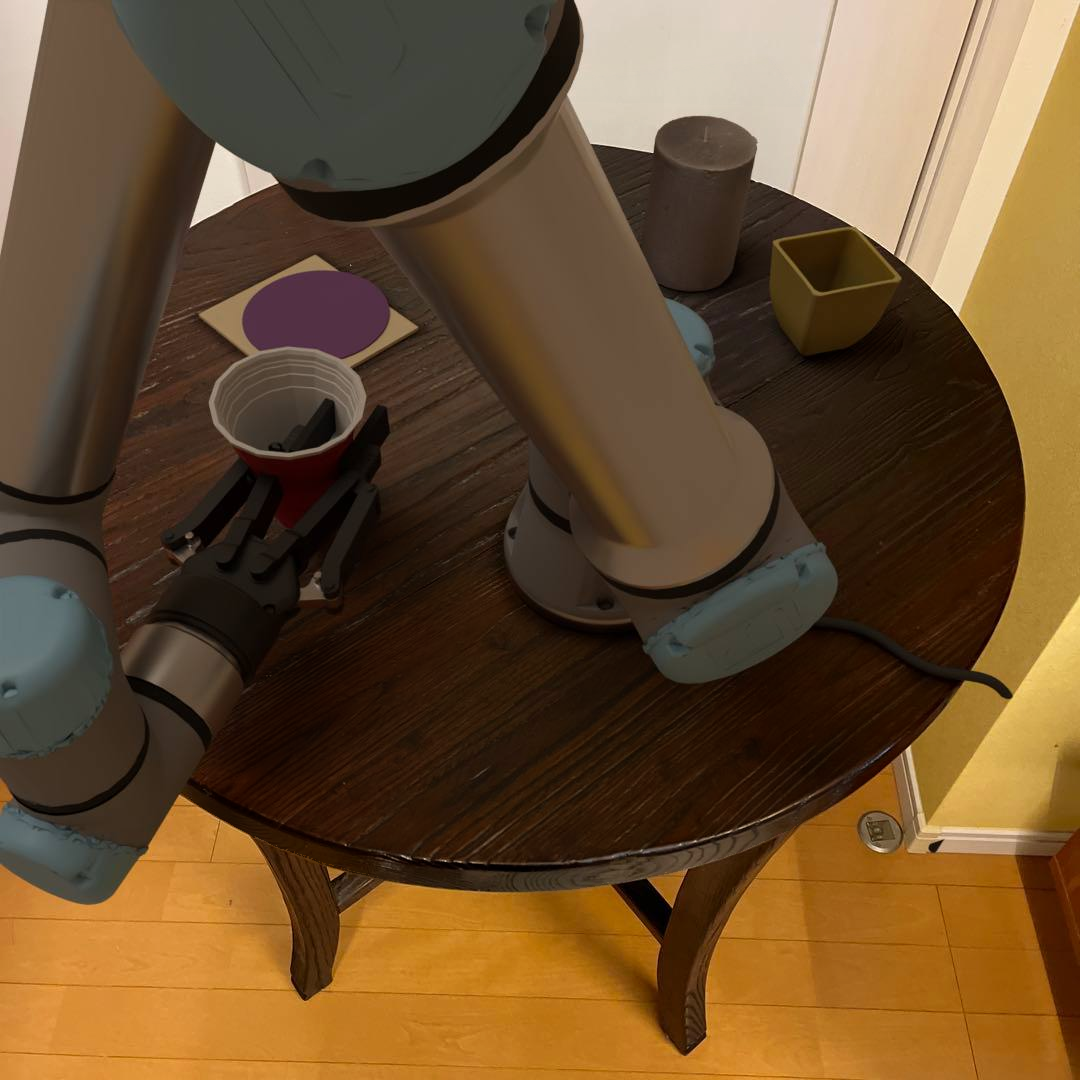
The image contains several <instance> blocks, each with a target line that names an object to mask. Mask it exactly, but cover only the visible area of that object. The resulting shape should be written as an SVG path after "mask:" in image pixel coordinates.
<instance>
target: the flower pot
mask: <svg viewBox="0 0 1080 1080" xmlns="http://www.w3.org/2000/svg"><path fill="white" fill-rule="evenodd" d="M770 264H771V265H770V273H769V295H770V296H769V297H770V302H771V306H772V309H773V312H774V315H775V318H776V321H777V323H778V325H779V327H780V328H781V330H782V331H783V333H784V334H785V335H786V336H787V337H788V339H789V340H790V342H791V343H792V344H793V346H794V347H795V348H796V350H797V351H798V352H799V354H800V355H801V356H804V357H809V356H813V355H817V354H823V353H827V352H834V351H838V350H844V349H847V348H850V347H851V346H853V345H854V344H856V343H857V342H859V341H860V340H862V339H863V338H864V337H866V336H867V335H868V334H869V333H870V332H871V331H872V330H873V329H874V328H875V326H877V324H878V323H879V321H880V320H881V318H882V317H883V315H884V314H885V311H886V310H887V307H888V306H889V304H890V303H891V300H892V298H893V296H894V295H895V292H896V291H897V289H898V287H899V286H900V283H901V282H902V277H901V275H900V274H899V273H898V272H897V271H896V270H895V269H894V267H893V266H892V265H891V264H890V263H889V262H888V261H887V260H886V259H885V257H884V256H883V255H882V254H881V253H880V252H879V251H878V250H877V249H876V247H875V246H874V245H873V244H872V243H871V242H870V241H869V240H868V238H867V237H866V236H865V235H864V234H863V233H862V232H861V231H860V230H859V229H858V228H857V227H856V226H846V227H838V228H837V227H836V228H831V229H827V230H822V231H815V232H810V233H803V234H799V235H794V236H793V235H792V236H786V237H781V238H778V239H774V240H773V241H772V249H771V261H770Z"/></svg>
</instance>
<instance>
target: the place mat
mask: <svg viewBox="0 0 1080 1080" xmlns="http://www.w3.org/2000/svg"><path fill="white" fill-rule="evenodd" d="M198 317H199V318H200V319H201V320H202V321H204V322H205V324H207V325H208V326H209V327H211V328H212V329H213V330H214V331H216V332H217V333H218V334H219V335H221V336H222V338H225V339H226V340H227V341H228V342H229V343H231V344H232V345H233V346H234V347H236V348H237V349H238V350H239V351H241V352H242V353H243V354H244V355H246V357H248V356H250V355H252V354H254V353H256V352H259V351H264V350H270V349H276V348H282V347H298V348H308V349H317V350H320V351H322V352H324V353H327V354H329V355H332V356H334V357H337V358H339V359H341V360H343V361H344V362H345V363H346V364H347V365H348V366H349V367H350V368H351V369H352V370H353V369H355V368H357V367H358V366H360V365H362V364H364V363H365V362H367V361H369V360H370V359H372V358H374V357H375V356H377V355H380V354H381V353H382V352H384V351H387V350H388V349H389V348H391V347H392V346H394V345H396V344H398V343H399V342H401V341H403V340H404V339H406V338H408V337H409V336H412V335H413V334H415V333H416V332H418V331H419V330H420V329H419V326H417V325H416V324H415V323H413V322H412V321H411V320H409V319H408V318H406V317H405V316H403V315H402V314H400V313H399V312H397V311H396V310H395V309H393V308H392V307H391V306H390V305H389V302H388V299H387V297H386V296H385V294H384V293H383V291H382V290H381V289H380V288H379V287H378V286H377V285H375V284H374V283H373V282H371V281H370V280H368V279H366V278H364V277H361V276H359V275H356V274H354V273H349V272H345V271H339V270H338V269H337V268H335V267H334V266H332V265H331V264H329V263H328V262H327V261H325V260H324V259H323V258H321V257H320V256H318V254H314V255H312V256H310V257H307V258H305V259H304V260H302V261H299V262H297V263H296V264H293V265H292V266H290V267H288V268H286V269H284V270H282V271H280V272H278V273H276V274H274V275H272V276H271V277H268V278H266V279H265V280H262V281H260V282H259V283H257V284H254V285H253V286H251V287H249V288H247V289H245V290H242V291H241V292H239V293H237V294H235V295H233V296H231V297H229V298H227V299H225V300H223V301H221V302H219V303H217V304H215V305H214V306H211V307H209V308H208V309H206V310H203V311H201V312H200V313H198Z"/></svg>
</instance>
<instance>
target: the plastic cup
mask: <svg viewBox="0 0 1080 1080" xmlns="http://www.w3.org/2000/svg"><path fill="white" fill-rule="evenodd" d="M211 391H212V392H211V395H210V397H209V400H208V406H209V411H210V415H211V419H212V424H213V425H214V427H215V429H216V430H217V431H218V432H219V433H220V434H221V435H222V436H223V437H224V438H225V439H226V440H227V441H228V443H229V444H230V445H231V448H233V451H234V452H235V453H236V454H237V455H238V458H239V457H241V458H242V459H243V460H244V461H245V462H246V463H247V464H248V465H249V466H250V468H251V470H252V471H251V473H252V474H253V476H254V478H255V480H256V481H257V479H258V477H259V475H260V472H264V473H267V474H269V475H277V477H278V480H279V482H280V485H281V487H282V489H283V492H284V496H283V498H282V500H281V502H280V505H279V507H278V509H277V511H276V513H275V515H274V518H276V520H277V521H278V522H279V523H280V524H281V525H282V526H283V527H284V528H285V529H287V530H291V529H292V528H293V527H294V526H295V524H296V523H297V522H298V521H299V520H300V519H301V518H302V517H303V516H304V515H305V514H306V513H307V512H308V511H309V510H310V508H311V507H312V506H313V505H314V504H315V503H316V502H317V501H318V500H319V499H320V498H321V497H322V496H323V495H324V493H325V492H326V491H327V490H328V489H329V488H330V487H331V486H332V485H333V484H334V483H335V482H336V481H337V480H338V478H339V477H340V471H339V466H338V463H339V461H340V460H341V458H342V457H343V455H344V454H345V452H346V451H347V449H348V448H349V446H350V445H351V443H352V442H353V440H354V434H355V430H356V428H357V427H358V425H360V423H361V422H362V420H363V415H364V410H365V407H366V406H365V405H366V400H367V396H368V395H367V393H366V391H365V388H364V385H363V383H362V380H361V376H360V375H359V374H358V373H357V372H356V371H355V370H353V369H351V368H350V367H349V366H348V365H347V364H346V363H345V362H344V361H343V360H341V359H339V358H337V357H334V356H332V355H329V354H327V353H324V352H322V351H320V350H317V349H308V348H298V347H282V348H276V349H270V350H264V351H259V352H256V353H254V354H252V355H250V356H246V357H244V358H242V359H240V360H238V361H236V362H234V363H232V364H231V365H230V366H229V368H228V369H226V370H225V371H224V373H222V374H221V375H220V377H218V378H217V379H216V380H215V382H214V385H213V388H212V390H211ZM325 398H328V399H330V400H333V401H334V407H335V422H336V432H335V433H334V435H333V436H332V438H331V439H330V441H329V442H327V443H325V444H324V445H322V446H320V447H318V448H313V449H308V450H302V451H297V452H292V453H283V452H272V451H269V450H268V445H269V444H271V443H273V442H280V443H283V441H284V440H285V439H286V437H287V436H288V434H290V432H291V430H292V429H293V428H294V427H295V426H297V425H298V424H300V425H304V426H306V424H307V423H308V422H309V420H310V419H311V418H312V416H313V415H314V413H315V412H316V411H317V409H318V408H319V406H320V405H321V404H322V402H323V401H324V399H325Z"/></svg>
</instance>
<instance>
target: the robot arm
mask: <svg viewBox="0 0 1080 1080" xmlns="http://www.w3.org/2000/svg"><path fill="white" fill-rule="evenodd" d="M584 39H585V33H584V26H583V20H582V17H581V14H580V12H579V8H578V6H577V3H576V2H575V0H47V3H46V9H45V14H44V19H43V25H42V30H41V35H40V41H39V46H38V52H37V56H36V62H35V67H34V74H33V77H32V83H31V89H30V93H29V99H28V100H29V101H28V105H27V110H26V114H25V119H24V120H25V121H24V127H23V132H22V136H21V142H20V147H19V154H18V159H17V164H16V168H15V173H14V180H13V185H12V190H11V196H10V201H9V206H8V211H7V218H6V222H5V227H4V232H3V237H2V244H1V249H0V780H1V781H2V782H3V783H4V784H5V786H6V788H7V789H8V792H9V794H10V795H11V797H12V798H11V799H10V800H8V801H6V802H5V803H4V805H3V806H2V808H1V812H0V865H1V866H3V868H5V869H7V870H8V871H9V872H10V873H12V874H13V875H15V876H16V877H18V878H19V879H21V880H23V881H25V882H26V883H28V884H30V885H31V886H33V887H35V888H37V889H39V890H42V891H43V892H45V893H47V894H50V895H52V896H55V897H58V898H59V899H61V900H65V901H66V902H67V901H68V902H71V903H75V904H78V905H86V906H92V905H93V906H94V905H98V904H102V903H104V902H106V901H108V900H109V899H110V898H112V897H113V896H114V895H115V894H116V892H117V891H118V889H119V888H120V886H121V885H122V884H123V882H124V880H125V879H126V878H127V876H128V875H129V874H130V872H131V870H132V869H133V867H134V866H135V865H136V863H137V862H138V860H140V858H141V857H143V856H144V855H146V854H147V853H148V850H149V849H150V846H149V845H150V844H151V842H152V841H153V839H154V837H155V836H156V834H157V832H158V831H159V829H160V827H161V826H162V824H163V823H164V821H165V819H166V818H167V816H168V814H169V812H170V811H171V809H172V808H173V806H174V804H175V803H176V802H177V799H178V797H180V795H181V793H182V792H183V790H184V788H185V786H186V785H187V782H189V780H190V778H191V777H192V775H193V773H194V772H195V770H196V769H197V767H198V765H199V763H200V761H202V758H203V757H204V754H205V753H206V751H207V750H208V748H209V747H210V745H211V743H213V742H214V740H215V738H216V737H217V735H218V733H219V732H220V730H221V728H222V727H223V726H224V724H225V722H226V720H227V719H228V717H229V716H230V714H231V713H232V711H233V710H234V709H235V706H236V704H237V703H238V701H239V700H240V698H241V697H242V695H243V693H244V690H245V685H246V684H247V683H249V682H251V681H252V680H253V678H254V677H255V675H256V673H257V672H258V670H259V669H260V667H261V665H262V664H263V662H264V661H265V659H266V658H267V656H268V654H269V653H270V651H271V649H272V648H273V646H274V645H275V643H276V641H277V639H278V637H279V635H280V632H281V630H282V628H283V627H284V626H285V625H286V624H287V623H288V622H289V621H290V620H292V619H294V618H296V617H297V616H299V614H300V612H301V611H302V609H315V608H325V611H326V613H327V614H328V615H331V616H336V615H337V616H338V615H340V614H342V612H343V611H344V608H345V591H346V590H345V589H346V585H347V584H348V581H349V580H350V578H351V576H352V574H353V572H354V569H356V568H355V567H356V565H357V564H358V561H359V559H360V557H361V556H362V553H363V551H364V550H365V547H366V545H367V543H368V541H369V540H370V537H371V535H372V533H373V531H374V529H375V527H376V525H377V523H378V521H379V518H380V517H381V516H382V512H383V511H382V503H381V502H382V501H381V496H380V490H379V489H380V488H379V486H378V484H376V483H374V482H372V480H373V479H374V478H375V476H376V474H377V472H378V471H379V469H380V468H381V466H382V461H383V460H382V459H383V458H382V453H381V448H382V447H383V445H384V443H385V442H386V440H387V438H388V437H389V435H390V433H391V429H390V421H389V413H388V407H387V406H386V405H381V404H376V405H375V408H374V409H373V411H371V413H370V415H369V416H368V417H367V419H366V421H365V422H364V423H363V425H362V427H361V428H360V430H359V431H358V433H357V434H356V436H355V437H354V438H353V442H352V443H351V445H350V446H349V448H348V449H347V451H346V452H345V454H344V455H343V457H342V458H341V460H340V461H339V463H338V466H339V471H340V477H339V478H338V480H337V481H336V482H335V483H334V484H333V485H332V486H331V487H330V488H329V489H328V490H327V491H326V492H325V493H324V495H323V496H322V497H321V498H320V499H319V500H318V501H317V502H316V503H315V504H314V505H313V506H312V507H311V508H310V510H309V511H308V512H307V513H306V514H305V515H304V516H303V517H302V518H301V519H300V520H299V521H298V522H297V523H296V524H295V526H294V527H293V528H292V529H291V530H290V529H285V530H283V531H282V532H281V533H280V534H279V535H278V536H277V537H276V538H275V539H274V541H273V540H272V541H270V540H264V539H265V537H266V535H267V533H268V531H269V528H270V526H271V525H272V522H273V520H274V518H275V516H274V515H275V513H276V511H277V509H278V507H279V505H280V502H281V500H282V498H283V496H284V492H283V489H282V487H281V485H280V482H279V480H278V477H277V475H269V474H267V473H264V472H260V475H259V477H258V479H257V481H256V480H255V478H254V476H253V474H252V473H251V471H252V470H251V468H250V466H249V465H248V464H247V463H246V462H245V461H244V460H243V459H242V458H241V457H239V456H238V459H236V460H235V462H234V463H233V464H232V465H231V466H230V467H229V468H228V469H227V471H226V472H225V473H224V474H223V475H222V477H221V478H219V480H218V481H217V482H216V483H215V484H214V485H213V486H212V488H211V489H210V490H209V491H208V492H207V494H206V495H204V497H203V498H202V499H201V500H200V501H199V503H197V504H196V506H195V507H194V508H193V509H192V510H191V511H190V513H189V514H188V515H187V516H186V517H185V518H184V519H182V520H180V521H179V522H177V523H176V524H174V525H173V526H171V527H169V528H168V529H166V530H164V531H163V532H162V533H161V535H160V537H159V538H160V541H161V545H162V547H163V549H164V551H165V554H166V556H167V559H168V561H169V563H170V565H172V566H177V567H178V566H180V575H179V576H178V577H176V578H174V579H173V581H171V583H170V584H169V586H168V587H167V588H166V590H164V593H162V595H161V596H160V598H159V599H158V600H157V602H156V604H155V605H154V606H153V607H152V609H151V610H150V611H149V613H148V614H147V616H146V618H145V624H144V625H141V626H140V627H137V628H136V630H135V631H134V632H133V633H132V635H131V637H130V638H129V640H127V642H126V643H125V645H124V647H122V649H121V651H120V645H119V639H118V631H117V625H116V618H115V617H116V616H115V610H114V604H113V597H112V591H111V585H110V584H111V583H110V578H109V567H108V564H107V563H108V562H107V556H106V555H107V554H106V549H105V541H104V534H103V533H104V532H103V518H104V512H105V508H106V504H107V501H108V499H109V495H110V492H111V489H112V486H113V482H114V478H115V475H116V472H117V466H118V462H119V458H120V457H121V452H122V449H123V447H124V443H125V440H126V436H127V434H128V431H129V426H130V424H131V420H132V417H133V414H134V411H135V407H136V404H137V402H138V398H139V394H140V391H141V388H142V384H143V382H144V378H145V375H146V372H147V368H148V365H149V362H150V358H151V357H152V356H151V355H152V352H153V349H154V345H155V342H156V340H157V339H156V338H157V336H158V332H159V329H160V327H161V323H162V320H163V316H164V313H165V310H166V307H167V303H168V300H169V296H170V293H171V290H172V287H173V284H174V281H175V277H176V274H177V270H178V268H179V265H180V262H181V258H182V255H183V251H184V248H185V244H186V242H187V238H188V235H189V232H190V228H191V225H192V223H193V218H194V215H195V212H196V209H197V205H198V203H199V199H200V196H201V194H202V193H201V192H202V190H203V186H204V183H205V180H206V176H207V174H208V170H209V166H210V164H211V161H212V157H213V154H214V151H215V147H216V144H218V145H219V146H220V147H222V148H223V149H225V150H226V151H228V152H229V153H231V154H232V155H233V156H235V157H237V158H239V159H241V160H242V161H244V162H246V163H247V164H249V165H252V166H254V167H255V168H257V169H259V170H261V171H263V172H266V173H268V174H270V175H271V176H272V177H273V178H274V179H275V181H276V182H277V183H278V184H279V185H280V187H281V188H282V189H283V191H284V192H285V193H286V194H287V195H288V197H289V198H290V199H291V201H292V202H293V203H295V205H296V206H297V207H298V208H299V209H300V210H302V211H303V212H304V213H305V214H306V215H307V216H309V217H311V218H312V219H314V220H316V221H318V222H320V223H323V224H327V225H330V226H333V227H334V226H335V227H339V228H347V229H363V228H364V229H365V228H367V229H369V230H370V231H371V233H372V234H373V235H374V236H375V238H376V239H377V240H378V242H379V243H380V244H381V246H382V247H383V248H384V249H385V251H386V252H387V254H388V255H389V256H390V257H391V259H392V260H393V262H394V263H395V264H396V265H397V266H398V268H399V269H400V271H401V272H402V274H403V275H404V276H405V277H406V279H407V280H408V281H409V282H410V284H411V285H412V287H413V288H414V289H415V290H416V292H417V293H418V294H419V296H420V297H421V298H422V300H423V301H424V302H425V304H426V305H427V306H428V308H429V309H430V310H431V311H432V313H433V314H434V315H435V317H436V318H437V320H438V321H439V322H440V323H441V325H442V326H443V327H444V329H445V330H446V331H447V333H448V334H449V335H450V336H451V338H452V339H453V340H454V342H455V343H456V345H458V347H459V348H460V350H461V351H462V352H463V353H464V355H465V357H466V358H467V359H468V360H469V361H470V363H471V364H472V366H473V367H474V368H475V370H476V371H477V372H478V373H479V375H480V376H481V377H482V378H483V380H484V381H485V382H486V384H487V386H488V387H489V388H490V389H491V391H492V392H493V394H494V395H495V396H496V397H497V398H498V400H499V401H500V402H501V403H502V405H503V406H504V408H505V409H506V410H507V412H508V413H509V414H510V416H511V417H512V418H513V419H514V420H515V422H516V424H517V426H519V427H520V429H521V430H522V431H523V432H524V434H525V436H526V437H527V438H528V478H527V481H526V483H525V485H524V486H523V488H522V490H521V492H520V494H519V496H518V498H517V500H516V502H515V504H514V506H513V508H512V510H511V512H510V514H509V516H508V518H507V522H506V524H505V528H504V532H503V533H504V534H503V563H504V568H505V572H506V575H507V578H508V581H509V582H510V584H511V586H512V588H513V590H514V591H515V592H516V594H517V596H519V598H520V599H521V600H522V601H523V602H524V603H525V604H526V605H527V606H528V607H529V608H530V609H532V610H533V611H534V612H536V613H537V614H538V615H540V616H541V617H544V618H545V619H547V620H548V621H550V622H553V623H555V624H557V625H560V626H562V627H565V628H567V629H570V630H571V629H572V630H575V631H579V632H585V633H592V634H617V633H624V632H630V631H635V630H636V631H637V633H638V635H639V637H640V638H641V641H642V642H643V645H642V650H643V652H644V653H645V654H646V655H647V656H648V655H649V657H650V658H651V660H652V661H653V663H654V664H655V666H656V668H657V670H658V671H659V672H660V673H661V674H662V676H664V677H665V678H667V679H669V680H670V681H673V682H676V683H680V684H692V685H693V684H703V683H709V682H713V681H715V680H719V679H723V678H727V677H730V676H733V675H735V674H738V673H740V672H742V671H745V670H747V669H749V668H753V666H756V665H757V664H759V663H760V664H761V662H763V661H766V660H767V659H769V658H771V657H773V656H774V655H776V654H777V653H779V652H781V651H782V650H784V649H785V648H786V647H788V646H789V645H791V644H792V643H793V642H795V641H796V640H797V639H799V638H801V637H802V636H803V635H804V634H805V633H806V632H808V631H809V630H810V629H811V628H812V627H819V628H831V629H838V630H843V631H848V632H852V633H854V634H858V635H861V636H863V637H865V638H868V639H870V640H871V641H873V642H875V643H877V644H879V645H880V646H881V647H883V648H884V649H886V650H887V651H889V652H890V653H891V654H893V655H894V656H896V657H897V658H899V659H900V660H901V661H903V662H904V663H906V664H908V665H910V666H911V667H913V668H915V669H917V670H919V671H921V672H923V673H927V674H928V675H932V676H936V677H939V678H943V679H944V678H945V679H950V680H955V681H957V680H958V681H965V682H970V683H971V682H972V683H976V684H980V685H984V686H986V687H989V688H991V689H992V690H994V691H995V692H996V693H997V694H998V695H999V696H1000V697H1001V698H1003V699H1005V700H1011V699H1013V697H1014V696H1013V695H1014V694H1013V692H1012V691H1011V690H1010V689H1009V688H1008V686H1006V684H1005V683H1004V682H1002V681H1001V680H1000V679H998V678H997V677H995V676H993V675H991V674H988V673H985V672H981V671H977V670H970V669H963V668H957V667H956V668H955V667H948V666H945V665H939V664H936V663H932V662H930V661H929V660H928V661H927V660H925V659H923V658H921V657H920V656H917V655H915V654H914V653H912V652H911V651H909V650H908V649H906V648H904V647H903V646H902V645H900V644H899V643H898V642H896V641H894V639H892V638H890V637H889V636H887V635H886V634H884V633H883V632H881V631H879V630H877V629H875V628H873V627H871V626H869V625H867V624H864V623H862V622H859V621H856V620H855V621H854V620H851V619H846V618H840V617H834V616H824V614H825V613H826V612H827V610H828V609H829V607H830V606H831V605H832V603H833V600H834V598H835V597H836V594H837V590H838V585H839V579H838V573H837V571H836V569H835V566H834V565H833V563H832V562H831V560H830V558H829V557H828V555H827V546H826V545H824V543H823V542H818V541H817V539H816V538H815V537H814V534H812V532H811V530H810V529H809V527H808V526H807V524H806V523H805V521H804V519H803V518H802V517H801V515H800V513H799V512H798V510H797V509H796V507H795V505H794V503H793V502H792V499H791V497H790V495H789V493H788V491H787V489H786V487H785V484H784V482H783V480H782V477H781V475H780V473H779V471H778V469H777V466H776V464H775V462H774V460H773V458H772V455H771V453H770V450H769V448H768V446H767V444H766V442H765V440H764V439H763V437H762V436H761V434H760V432H758V430H757V429H756V428H755V427H754V426H753V424H752V423H751V422H750V421H748V420H747V419H746V418H744V416H741V415H740V414H738V413H736V412H734V411H733V410H730V409H728V408H726V407H724V406H723V404H722V402H720V400H719V398H718V397H717V395H716V394H715V393H714V391H713V388H712V385H711V382H710V373H711V371H712V369H713V368H714V366H715V362H716V355H715V351H714V347H715V346H714V344H715V343H714V337H713V334H712V331H711V329H710V327H709V326H708V324H707V322H706V321H705V320H704V319H703V318H702V317H701V316H700V315H699V314H698V313H696V312H695V311H694V310H692V309H691V308H689V307H688V306H686V305H684V304H682V303H680V302H678V301H676V300H674V299H670V298H667V297H664V294H663V293H662V291H661V289H660V287H659V284H658V283H657V282H656V280H655V278H654V276H653V274H652V272H651V270H650V267H649V265H648V263H647V261H646V259H645V257H644V255H643V253H642V251H641V246H640V244H639V242H638V241H637V238H636V236H635V234H634V232H633V230H632V228H631V225H630V224H629V221H628V220H627V217H626V215H625V213H624V211H623V208H622V207H621V205H620V203H619V201H618V197H617V196H616V194H615V192H614V190H613V188H612V186H611V184H610V182H609V179H608V178H607V175H606V173H605V171H604V169H603V167H602V165H601V162H600V161H599V159H598V156H597V154H596V151H595V150H594V148H593V146H592V143H591V142H590V140H589V138H588V135H587V133H586V131H585V129H584V127H583V125H582V122H581V121H580V119H579V116H578V114H577V113H576V110H575V108H574V106H573V104H572V102H571V100H570V98H569V96H568V94H569V92H570V91H571V88H572V86H573V84H574V81H575V78H576V76H577V74H578V71H579V68H580V65H581V60H582V56H583V52H584V41H585V40H584ZM335 432H336V422H335V407H334V401H333V400H330V399H328V398H325V399H324V401H323V402H322V404H321V405H320V406H319V408H318V409H317V411H316V412H315V413H314V415H313V416H312V418H311V419H310V420H309V422H308V423H307V424H306V426H304V425H300V424H298V425H297V426H295V427H294V428H293V429H292V430H291V432H290V434H288V436H287V437H286V439H285V440H284V441H283V443H280V442H273V443H271V444H269V445H268V450H269V451H272V452H283V453H292V452H297V451H302V450H308V449H313V448H318V447H320V446H322V445H324V444H325V443H327V442H329V441H330V439H331V438H332V436H333V435H334V433H335ZM242 507H243V508H242ZM240 510H241V512H240V514H239V516H235V515H236V514H238V512H239V511H240ZM233 518H234V519H233ZM232 519H233V520H232ZM230 521H232V523H230ZM229 523H230V526H229V528H228V531H227V533H226V535H225V537H224V539H223V540H222V541H220V542H218V543H216V544H214V545H211V544H212V543H213V542H214V541H215V539H216V538H217V537H218V536H219V534H220V533H221V532H222V531H223V530H224V528H225V527H227V525H228V524H229ZM338 529H339V530H338ZM337 530H338V531H337ZM336 531H337V534H336V535H335V537H334V539H333V541H332V543H331V545H330V547H329V549H328V551H327V552H326V554H325V557H324V560H323V561H322V566H321V571H320V570H318V571H315V572H314V573H313V577H311V579H310V581H309V583H308V584H307V585H306V586H304V587H301V582H300V579H299V578H300V577H301V576H302V575H303V574H304V573H305V571H306V570H307V569H308V567H309V564H310V561H311V559H312V558H313V557H314V555H316V553H317V552H318V551H319V550H320V549H321V548H322V547H323V546H324V544H325V543H326V542H327V541H328V540H329V539H330V538H331V537H332V536H333V534H334V533H336ZM944 841H945V838H943V839H939V840H936V841H934V842H931V843H929V845H928V847H927V848H928V851H929V852H930V853H932V854H935V853H936V852H938V850H939V849H940V847H941V845H942V844H943V843H944Z"/></svg>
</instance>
